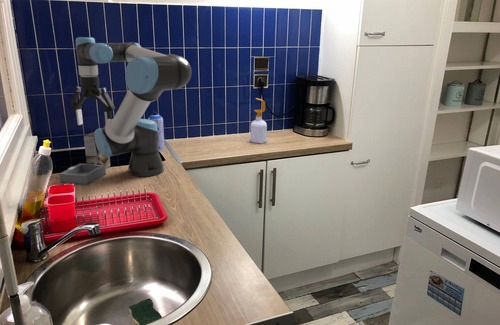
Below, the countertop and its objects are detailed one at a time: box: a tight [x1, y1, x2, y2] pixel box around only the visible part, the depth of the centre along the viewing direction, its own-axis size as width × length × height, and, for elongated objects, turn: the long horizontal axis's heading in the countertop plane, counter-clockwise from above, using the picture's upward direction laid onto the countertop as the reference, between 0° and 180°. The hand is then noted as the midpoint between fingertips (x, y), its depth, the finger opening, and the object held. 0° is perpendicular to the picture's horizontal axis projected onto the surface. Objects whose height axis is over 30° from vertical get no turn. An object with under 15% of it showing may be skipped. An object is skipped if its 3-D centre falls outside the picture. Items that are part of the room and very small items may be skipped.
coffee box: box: [83, 131, 111, 169], centre depth 181 cm, size 9×6×16 cm
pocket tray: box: [59, 162, 107, 186], centre depth 171 cm, size 12×14×4 cm
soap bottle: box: [250, 97, 268, 144], centre depth 228 cm, size 9×9×25 cm
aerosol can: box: [147, 111, 166, 153], centre depth 211 cm, size 8×8×20 cm
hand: (94, 125), depth 178 cm, fingers open, 13 cm apart
